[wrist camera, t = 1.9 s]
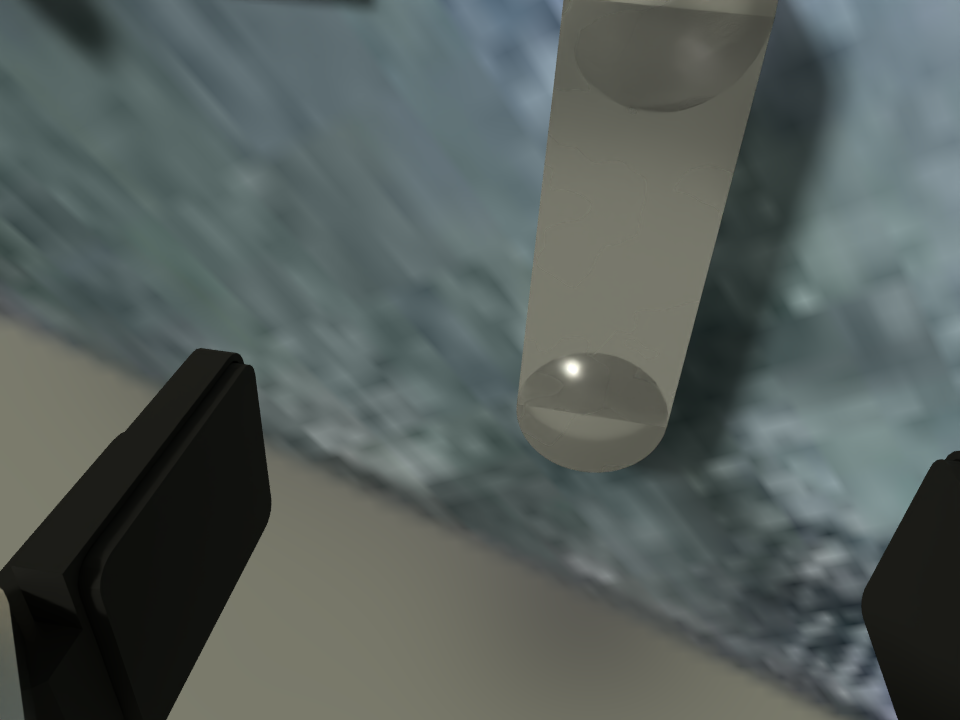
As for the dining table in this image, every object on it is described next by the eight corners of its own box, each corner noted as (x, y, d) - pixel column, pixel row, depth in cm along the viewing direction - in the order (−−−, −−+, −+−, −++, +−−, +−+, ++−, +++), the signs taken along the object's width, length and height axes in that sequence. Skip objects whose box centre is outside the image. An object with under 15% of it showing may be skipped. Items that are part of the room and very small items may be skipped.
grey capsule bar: (775, -112, 16) (807, -108, 13) (649, 408, 24) (652, 482, 21) (587, -127, 16) (578, -126, 13) (525, 389, 24) (510, 459, 21)
